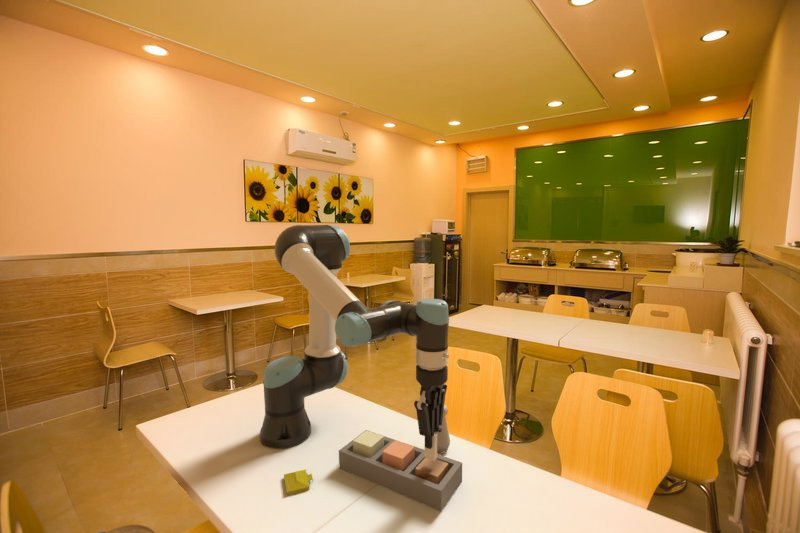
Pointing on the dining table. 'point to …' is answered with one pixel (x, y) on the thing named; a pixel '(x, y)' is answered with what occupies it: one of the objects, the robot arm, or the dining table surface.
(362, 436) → the cream square block
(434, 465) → the walnut key
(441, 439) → the salt shaker
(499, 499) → the dining table surface
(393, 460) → the terracotta key
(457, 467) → the key panel
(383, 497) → the dining table surface
